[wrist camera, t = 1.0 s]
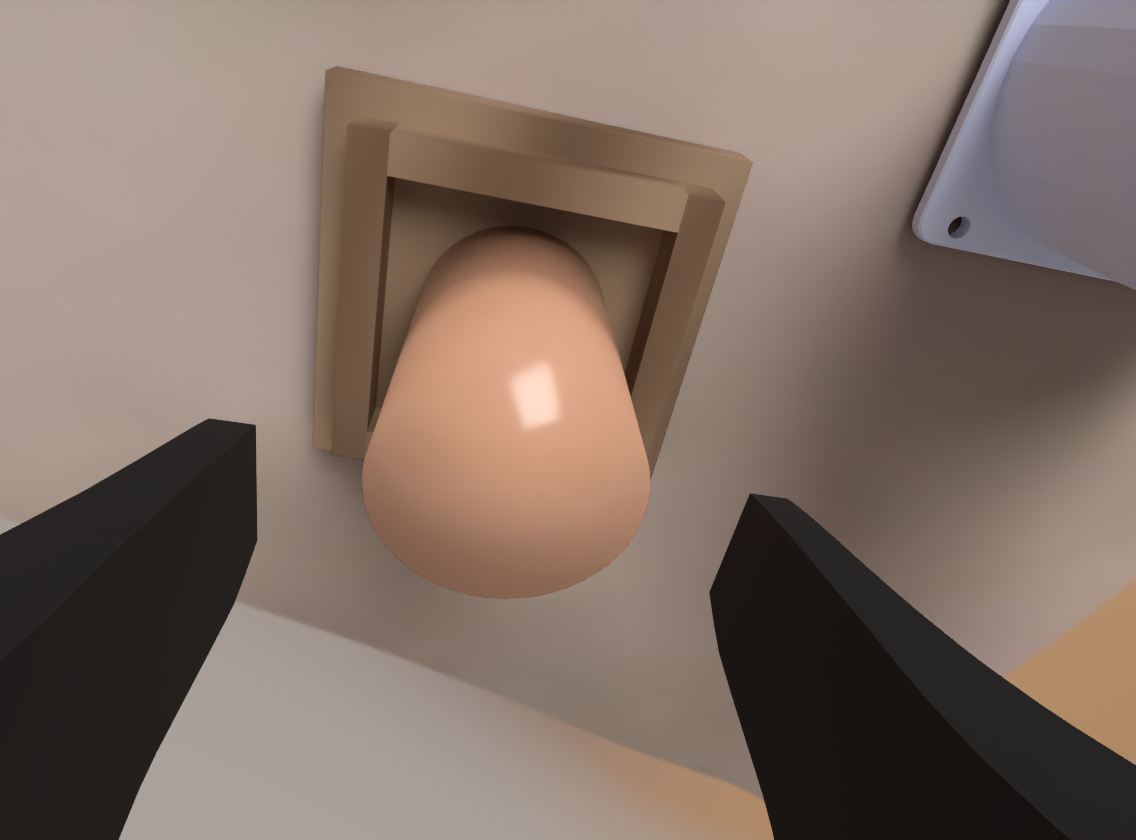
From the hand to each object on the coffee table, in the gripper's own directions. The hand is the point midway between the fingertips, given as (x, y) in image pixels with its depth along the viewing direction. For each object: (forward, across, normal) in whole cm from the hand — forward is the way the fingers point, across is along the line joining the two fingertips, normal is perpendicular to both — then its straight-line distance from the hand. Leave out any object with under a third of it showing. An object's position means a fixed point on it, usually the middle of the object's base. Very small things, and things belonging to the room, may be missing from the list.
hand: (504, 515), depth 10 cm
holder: (+8, 0, 0) cm, 9 cm away
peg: (+8, 0, 0) cm, 8 cm away
